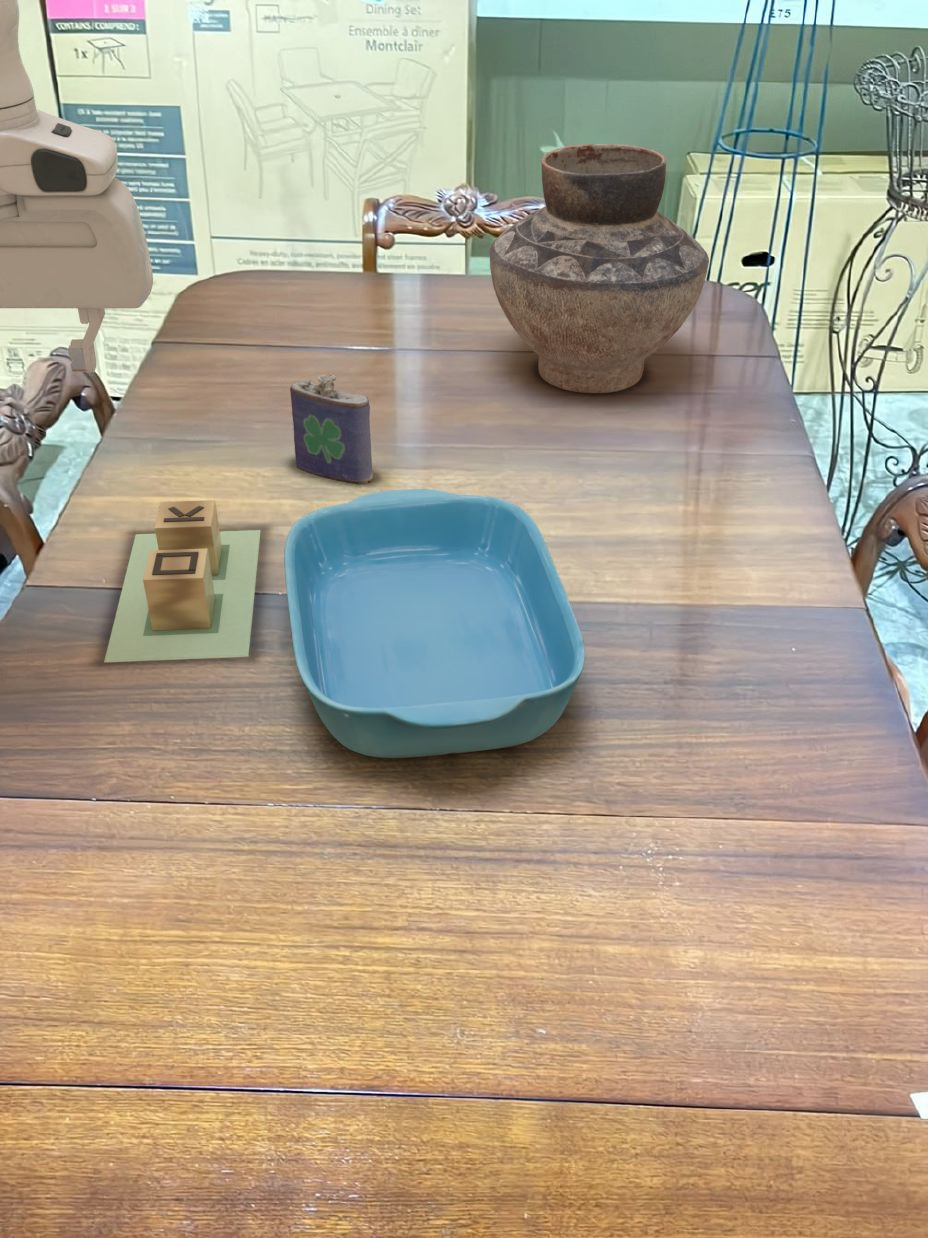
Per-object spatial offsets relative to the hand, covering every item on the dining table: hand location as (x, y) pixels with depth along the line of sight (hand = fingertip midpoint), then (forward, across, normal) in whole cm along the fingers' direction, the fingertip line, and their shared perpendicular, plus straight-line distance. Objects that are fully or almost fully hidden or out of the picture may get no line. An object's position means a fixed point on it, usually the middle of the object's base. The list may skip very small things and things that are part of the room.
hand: (15, 369), depth 87 cm
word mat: (+25, +8, +12) cm, 29 cm away
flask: (+25, +21, +35) cm, 48 cm away
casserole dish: (+25, +29, 0) cm, 38 cm away
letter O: (+25, +8, +8) cm, 27 cm away
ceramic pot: (+24, +52, +59) cm, 83 cm away
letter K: (+25, +8, +17) cm, 31 cm away
